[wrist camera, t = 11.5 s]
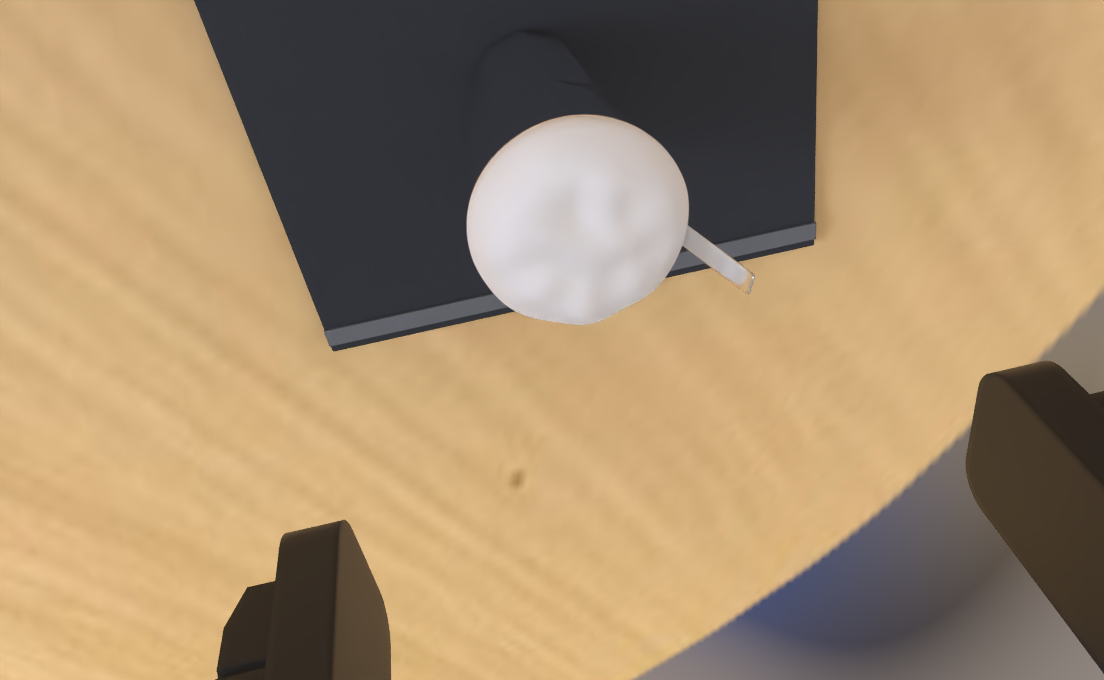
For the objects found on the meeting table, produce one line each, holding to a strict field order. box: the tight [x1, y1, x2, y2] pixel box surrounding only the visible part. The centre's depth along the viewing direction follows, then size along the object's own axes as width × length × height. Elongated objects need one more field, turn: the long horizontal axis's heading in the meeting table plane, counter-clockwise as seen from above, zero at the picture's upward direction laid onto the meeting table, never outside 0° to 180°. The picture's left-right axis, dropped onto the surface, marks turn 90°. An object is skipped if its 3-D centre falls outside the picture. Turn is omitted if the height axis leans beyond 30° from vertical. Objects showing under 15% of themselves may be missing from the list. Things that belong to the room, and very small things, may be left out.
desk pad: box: [194, 0, 818, 351], centre depth 25 cm, size 16×14×1 cm
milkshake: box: [467, 31, 755, 325], centre depth 20 cm, size 4×5×10 cm
